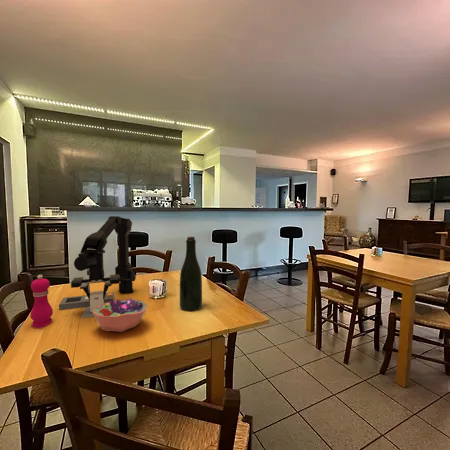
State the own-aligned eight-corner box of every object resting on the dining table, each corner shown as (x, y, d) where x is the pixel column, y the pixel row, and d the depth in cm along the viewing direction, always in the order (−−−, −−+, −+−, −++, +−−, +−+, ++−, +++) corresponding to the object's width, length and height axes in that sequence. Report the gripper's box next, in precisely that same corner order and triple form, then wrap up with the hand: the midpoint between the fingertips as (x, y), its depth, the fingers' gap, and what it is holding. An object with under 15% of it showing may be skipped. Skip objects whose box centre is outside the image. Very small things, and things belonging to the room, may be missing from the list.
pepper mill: (57, 322, 105) (55, 273, 103) (39, 330, 98) (37, 278, 96) (44, 319, 107) (42, 271, 105) (26, 327, 100) (23, 276, 99)
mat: (111, 305, 122) (111, 304, 122) (110, 315, 112) (110, 313, 112) (85, 308, 118) (85, 307, 118) (81, 319, 108) (81, 317, 108)
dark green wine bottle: (174, 307, 121) (174, 236, 118) (192, 301, 129) (192, 234, 126) (189, 313, 114) (189, 239, 111) (206, 307, 122) (207, 236, 119)
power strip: (114, 299, 131) (113, 290, 131) (113, 305, 123) (113, 296, 123) (63, 304, 124) (63, 295, 123) (59, 312, 115) (58, 302, 115)
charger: (104, 305, 118) (103, 290, 117) (103, 310, 113) (102, 294, 112) (91, 307, 116) (91, 292, 115) (90, 311, 111) (89, 295, 111)
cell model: (103, 318, 108) (102, 292, 107) (152, 317, 110) (151, 291, 109) (84, 340, 92) (83, 309, 91) (142, 338, 93) (141, 307, 92)
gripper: (119, 259, 124) (120, 291, 125) (74, 262, 117) (76, 296, 119) (119, 264, 113) (119, 299, 115) (70, 268, 107) (71, 305, 108)
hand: (97, 299), depth 114 cm, fingers closed on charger, 5 cm apart
